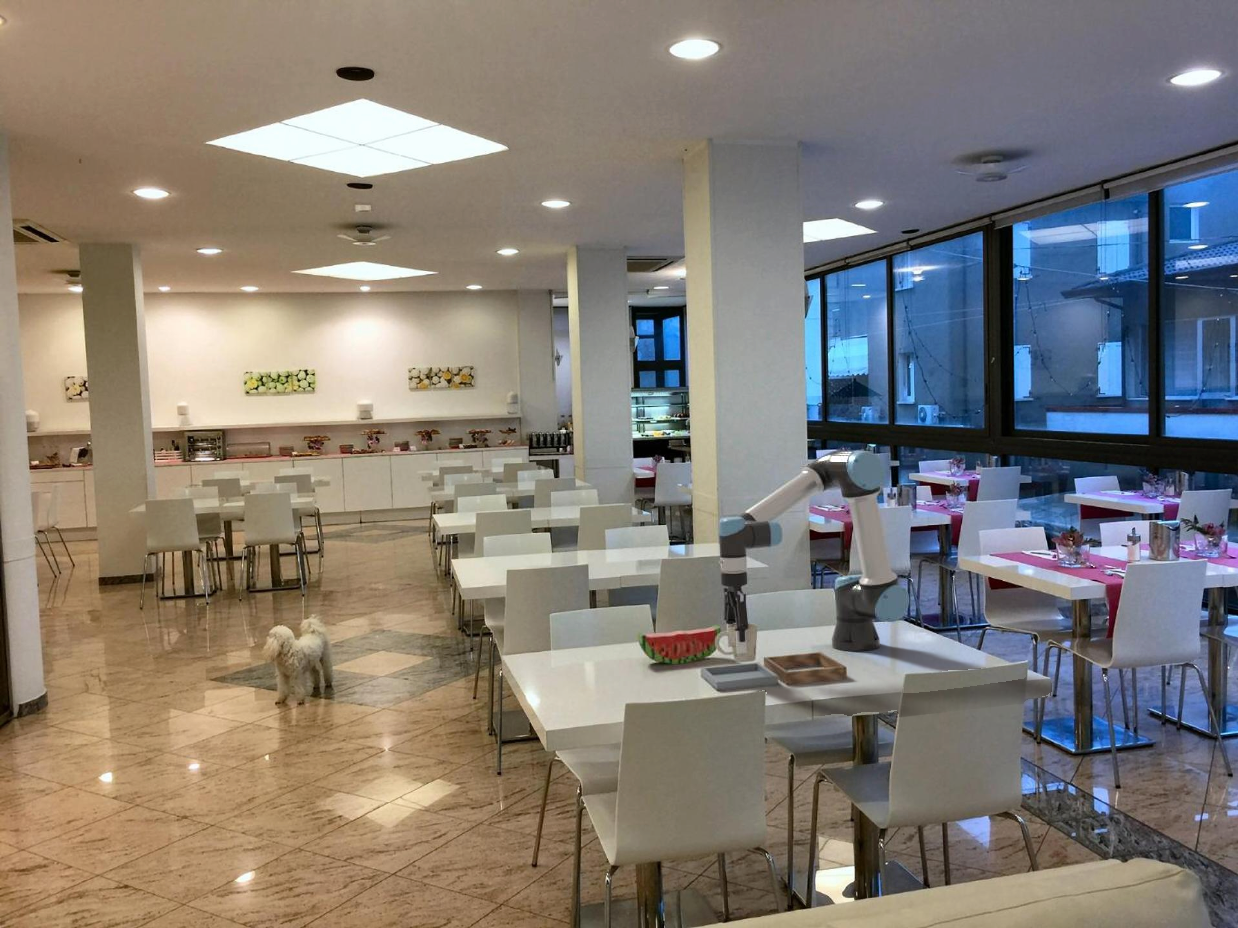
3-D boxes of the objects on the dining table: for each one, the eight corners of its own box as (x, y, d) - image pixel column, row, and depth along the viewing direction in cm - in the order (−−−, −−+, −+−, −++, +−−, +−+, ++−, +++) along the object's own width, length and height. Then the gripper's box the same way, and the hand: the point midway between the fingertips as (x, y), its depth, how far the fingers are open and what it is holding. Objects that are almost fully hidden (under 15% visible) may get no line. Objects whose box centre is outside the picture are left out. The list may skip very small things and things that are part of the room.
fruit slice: (643, 667, 307) (641, 635, 306) (638, 663, 313) (636, 631, 312) (723, 659, 313) (721, 627, 312) (716, 654, 319) (715, 624, 318)
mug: (758, 662, 281) (756, 626, 281) (714, 663, 283) (712, 628, 283) (760, 657, 289) (758, 622, 289) (717, 658, 291) (715, 624, 292)
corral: (820, 663, 301) (820, 651, 301) (846, 678, 282) (846, 666, 282) (764, 668, 298) (763, 657, 298) (786, 685, 279) (786, 672, 278)
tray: (759, 670, 296) (758, 662, 296) (778, 684, 279) (778, 675, 279) (700, 676, 293) (700, 667, 293) (716, 690, 276) (716, 681, 276)
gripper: (711, 567, 295) (714, 642, 295) (732, 577, 274) (735, 658, 275) (735, 565, 296) (738, 640, 297) (757, 575, 275) (761, 656, 276)
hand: (737, 649), depth 286 cm, fingers closed on mug, 8 cm apart
